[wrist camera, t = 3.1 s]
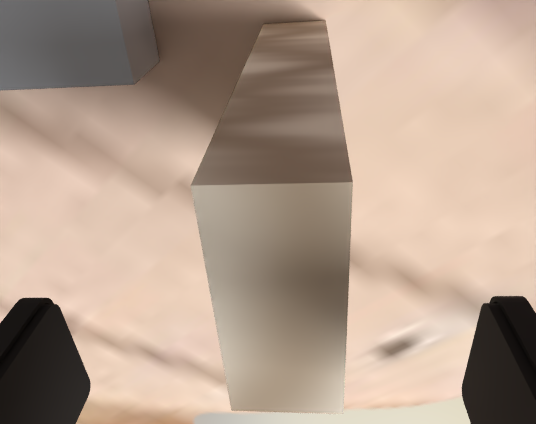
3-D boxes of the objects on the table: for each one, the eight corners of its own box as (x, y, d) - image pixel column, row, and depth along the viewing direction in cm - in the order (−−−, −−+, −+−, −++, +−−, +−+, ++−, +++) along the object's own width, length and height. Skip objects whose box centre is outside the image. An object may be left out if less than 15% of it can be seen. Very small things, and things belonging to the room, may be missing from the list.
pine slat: (325, 20, 22) (352, 182, 8) (325, 153, 25) (343, 414, 12) (263, 24, 22) (190, 185, 8) (272, 155, 26) (231, 410, 12)
